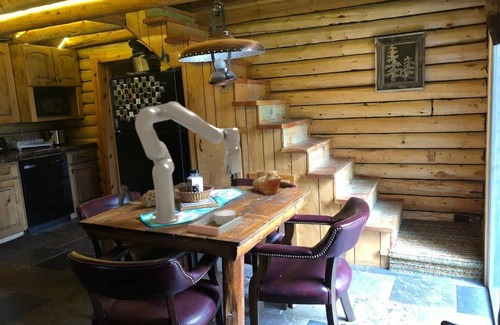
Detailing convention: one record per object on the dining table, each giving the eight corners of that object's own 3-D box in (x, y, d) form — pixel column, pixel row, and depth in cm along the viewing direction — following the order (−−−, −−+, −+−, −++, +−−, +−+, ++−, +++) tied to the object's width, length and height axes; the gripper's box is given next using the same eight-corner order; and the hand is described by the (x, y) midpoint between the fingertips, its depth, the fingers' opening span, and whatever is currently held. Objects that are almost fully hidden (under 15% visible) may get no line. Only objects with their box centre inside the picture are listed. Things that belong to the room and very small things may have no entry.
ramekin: (230, 226, 196) (229, 216, 195) (210, 225, 200) (209, 214, 199) (239, 220, 206) (238, 210, 206) (219, 218, 210) (219, 208, 210)
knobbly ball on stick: (159, 202, 250) (157, 187, 248) (166, 205, 242) (165, 189, 241) (125, 209, 236) (123, 193, 235) (131, 212, 229) (130, 196, 227)
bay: (188, 231, 191) (187, 224, 191) (214, 218, 210) (214, 212, 209) (217, 236, 183) (217, 228, 182) (242, 222, 202) (241, 215, 201)
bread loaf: (269, 196, 253) (268, 173, 251) (249, 189, 276) (248, 168, 274) (287, 193, 260) (286, 170, 258) (266, 186, 283) (265, 165, 280)
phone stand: (120, 206, 244) (118, 187, 242) (117, 204, 249) (115, 186, 247) (134, 204, 249) (133, 185, 247) (132, 202, 254) (130, 183, 252)
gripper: (233, 149, 215) (235, 182, 218) (218, 153, 202) (220, 188, 205) (246, 149, 211) (247, 183, 214) (231, 153, 199) (233, 189, 201)
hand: (234, 186), depth 210 cm, fingers closed
